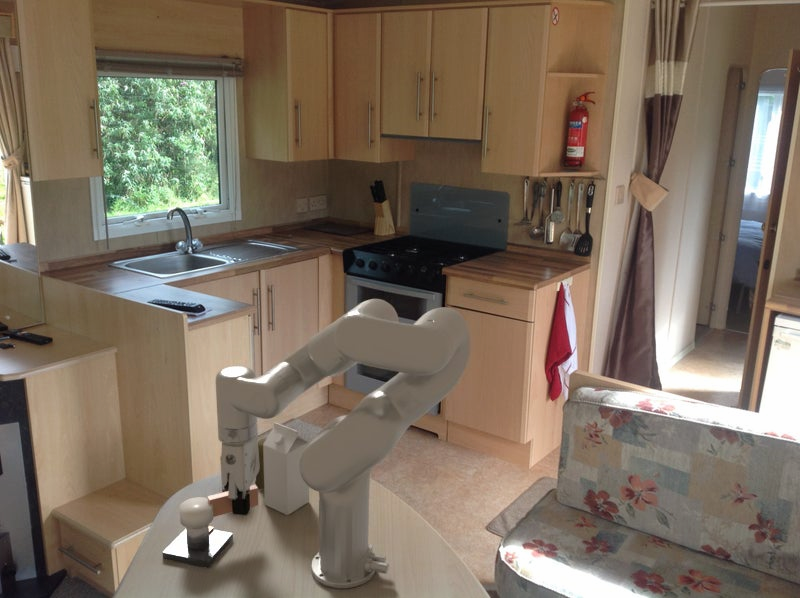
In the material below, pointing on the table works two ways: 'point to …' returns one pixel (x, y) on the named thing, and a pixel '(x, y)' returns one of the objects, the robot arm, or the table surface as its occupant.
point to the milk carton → (284, 470)
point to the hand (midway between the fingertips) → (241, 512)
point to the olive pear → (260, 475)
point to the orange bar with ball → (210, 508)
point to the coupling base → (198, 554)
